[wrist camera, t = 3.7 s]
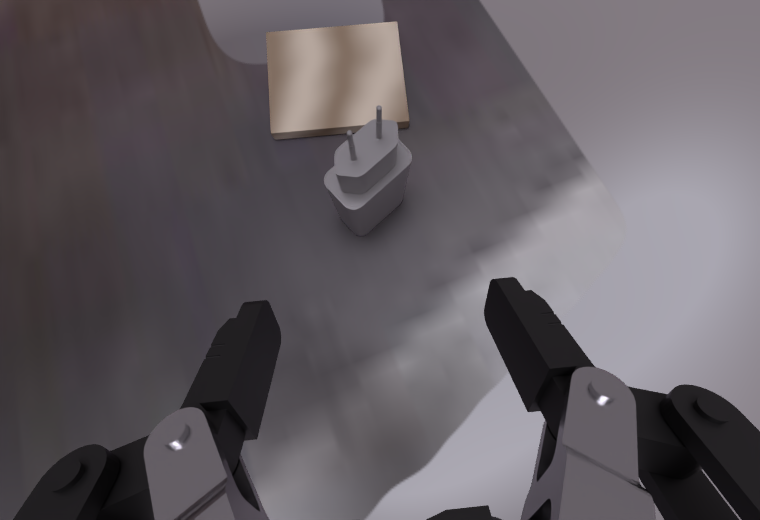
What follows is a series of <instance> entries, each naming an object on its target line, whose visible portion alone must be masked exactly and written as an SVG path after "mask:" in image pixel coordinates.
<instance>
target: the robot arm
mask: <svg viewBox="0 0 760 520" xmlns="http://www.w3.org/2000/svg"><path fill="white" fill-rule="evenodd" d="M484 316H485V321H486V324H487V327H488V329H489V331H490V333H491V335H492V337H493V339H494V342H495V344H496V346H497V348H498V350H499V352H500V354H501V356H502V358H503V361H504V363H505V365H506V367H507V369H508V371H509V373H510V375H511V377H512V380H513V382H514V384H515V386H516V388H517V390H518V392H519V394H520V396H521V398H522V401H523V403H524V405H525V407H526V409H527V411H528V412H534V411H541V412H542V414H543V416H544V418H545V422H544V425H543V429H542V434H541V439H540V444H539V449H538V454H537V459H536V464H535V470H534V475H533V479H532V483H531V487H530V490H529V493H528V495H527V498H526V501H525V504H524V508H523V512H522V516H521V520H656V517H655V507H654V503H655V505H656V506H657V508H658V510H659V511H660V513H661V515H662V516H663V518H664V520H739V519H738V518H737V516H736V515H735V514H734V512H733V511H732V510H731V509H730V507H729V506H728V504H727V503H726V502H725V501H724V500H723V498H722V497H721V495H720V494H719V493H718V491H717V490H716V489H715V487H714V486H713V485H712V484H711V482H710V481H709V480H708V478H707V477H706V476H705V474H704V473H703V472H702V469H703V470H704V471H705V473H706V474H707V475H708V476H709V478H710V479H711V480H712V482H713V483H714V484H715V485H716V487H717V488H718V489H719V491H720V492H721V493H722V495H723V496H724V497H725V499H726V500H727V501H728V502H729V504H730V505H731V506H732V507H733V509H734V510H735V512H736V513H737V514H738V515H739V517H740V518H741V519H742V520H760V431H759V430H758V429H757V428H756V427H755V426H754V425H753V424H752V423H751V422H750V421H749V420H748V419H747V418H746V417H745V416H744V415H743V414H742V413H741V412H740V411H739V410H738V409H737V408H736V407H735V406H733V405H732V404H731V403H730V402H728V401H727V400H725V399H724V398H722V397H721V396H719V395H717V394H715V393H713V392H711V391H709V390H707V389H704V388H701V387H698V386H694V385H679V386H677V387H675V388H674V389H673V390H672V391H671V392H670V393H669V394H663V393H658V392H653V391H647V390H642V389H637V388H632V387H628V386H626V385H625V383H624V382H622V381H621V380H620V379H618V378H617V377H616V376H614V375H613V374H611V373H609V372H607V371H605V370H602V369H599V368H596V367H595V366H594V365H593V364H592V363H591V361H590V360H589V359H588V357H587V356H586V355H585V353H584V352H583V351H582V349H581V348H580V347H579V345H578V344H577V343H576V341H575V340H574V339H573V337H572V336H571V334H570V333H569V332H568V330H567V329H566V328H565V326H564V325H562V324H561V321H560V320H559V318H558V317H557V316H556V314H555V315H554V312H553V310H552V309H551V308H550V306H549V305H548V304H547V302H546V301H545V300H544V299H543V298H541V297H540V296H538V295H537V294H536V293H534V292H533V291H532V290H528V291H525V290H524V289H523V287H522V286H521V285H520V283H519V282H518V280H517V279H516V278H514V277H510V278H500V279H492V280H491V282H490V285H489V289H488V294H487V299H486V303H485V308H484ZM280 344H281V331H280V328H279V325H278V323H277V320H276V318H275V315H274V313H273V311H272V308H271V306H270V304H269V302H268V301H267V300H264V301H253V302H245V303H243V305H242V306H241V308H240V311H239V313H238V315H237V318H231V319H229V320H228V321H227V322H226V323H225V324H224V325H223V326H222V327H221V328H220V329H219V330H218V332H217V334H216V336H215V338H214V340H213V342H212V344H211V348H209V351H208V353H207V355H206V359H204V361H203V363H202V365H201V367H200V369H199V371H198V373H197V375H196V378H195V380H194V382H193V384H192V386H191V388H190V390H189V392H188V394H187V396H186V398H185V400H184V403H183V404H182V406H181V408H180V409H179V410H177V411H175V412H173V413H172V414H170V415H168V416H167V417H166V418H164V419H163V420H162V421H161V422H160V423H159V424H158V425H157V426H156V427H155V428H154V429H153V431H152V432H151V434H150V435H148V436H146V437H144V438H141V439H139V440H137V441H134V442H132V443H129V444H127V445H124V446H122V447H119V448H117V449H115V450H112V451H109V450H107V449H106V448H104V447H102V446H100V445H96V444H93V445H87V446H84V447H81V448H78V449H76V450H74V451H72V452H71V453H69V454H68V455H66V456H65V457H63V458H62V459H60V460H59V461H58V462H57V463H56V464H54V465H53V466H52V467H51V468H50V469H49V470H48V471H47V472H46V474H45V475H44V476H43V477H42V478H41V480H40V481H39V482H38V484H37V485H36V487H35V488H34V490H33V491H32V493H31V494H30V495H29V497H28V498H27V500H26V501H25V503H24V504H23V506H22V507H21V509H20V510H19V512H18V513H17V515H16V516H15V518H14V519H13V520H269V518H268V516H267V514H266V512H265V510H264V508H263V506H262V503H261V501H260V499H259V496H258V494H257V491H256V489H255V487H254V484H253V482H252V480H251V477H250V475H249V473H248V470H247V468H246V465H245V463H244V461H243V458H242V456H241V454H240V453H241V449H242V446H243V442H244V440H254V439H257V437H258V433H259V429H260V425H261V421H262V417H263V413H264V409H265V405H266V401H267V397H268V393H269V389H270V385H271V381H272V377H273V373H274V369H275V365H276V361H277V357H278V353H279V349H280ZM639 478H640V480H641V482H642V483H643V485H644V486H645V488H646V489H644V488H643V487H641V485H640V482H639ZM653 501H654V502H653ZM427 520H501V519H499V518H496V517H492V516H491V513H490V510H489V506H479V507H469V508H460V509H451V510H445V511H443V512H441V513H439V514H437V515H435V516H433V517H431V518H429V519H427Z"/></svg>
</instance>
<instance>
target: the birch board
mask: <svg viewBox="0 0 760 520" xmlns="http://www.w3.org/2000/svg"><path fill="white" fill-rule="evenodd" d="M266 39H267V60H268V81H269V102H270V123H271V134H272V136H273V137H274V139H275V140H279V139H291V138H302V137H313V136H324V135H335V134H346V133H347V131H349V130H350V131H352V133H356V132H357V131H358V130H360V129H361V128H362V127H363V126H364V125H365V124H367V123H368V122H369V121H371V120H374V119H376V107H377V106H378V105H380V106H381V107H382V120H393V121H395V122H396V123H397V125H398V129H401V128H408V126H409V115H408V106H407V98H406V90H405V82H404V74H403V66H402V58H401V50H400V42H399V34H398V26H397V22H385V23H374V24H361V25H351V26H350V25H349V26H337V27H326V28H313V29H303V30H302V29H301V30H290V31H278V32H267V33H266Z"/></svg>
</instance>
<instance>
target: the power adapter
mask: <svg viewBox="0 0 760 520" xmlns="http://www.w3.org/2000/svg"><path fill="white" fill-rule="evenodd" d="M347 139H348V140H347V141H345V142H344V143H343V144H342V145H341V146H340V147H339V148H338V149H337V150H336V152H335V155H334V157H335V166H334V167H332V168H331V169H330V170H329V171H328V172H327V173H326V175H325V177H324V182H325V185H326V188H327V190H328V192H329V194H330V196H331V198H332V201H333V203H334V205H335V207H336V209H337V212H338V214H339V216H340V218H341V220H342V221H343V222H344V223H345V224H346V225H347V226H348V227H349V229H350V230H351V231H352V232H353V233H354V234H355V235H357V236H364V235H366V234H368V233H369V232H370V231H371V230H372V229H373V228H374V227H375V226H377V225H378V224H379V223H380V222H381V221H382V220H383V219H384V218H385V217H387V216H388V215H389V214H390V213H391V212H392V211H393V210H394V209H395V208H397V207H398V206H399V205H400V204H401V202H402V200H403V196H404V191H405V187H406V182H407V178H408V173H409V169H410V165H411V160H412V155H411V152H410V151H409V149H408V148H407V147H406V146H405V145H404V144H403V143H402V142H401V141H400V140H399V139H398V125H397V123H396V122H395V121H393V120H382V107H381V106H380V105H378V106H377V107H376V119H374V120H371V121H369V122H368V123H367V124H365V125H364V126H363V127H362V128H361V129H360V130H358V131H357V132H356V133H355V134H354V135H352V131H350V130H349V131H347Z"/></svg>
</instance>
